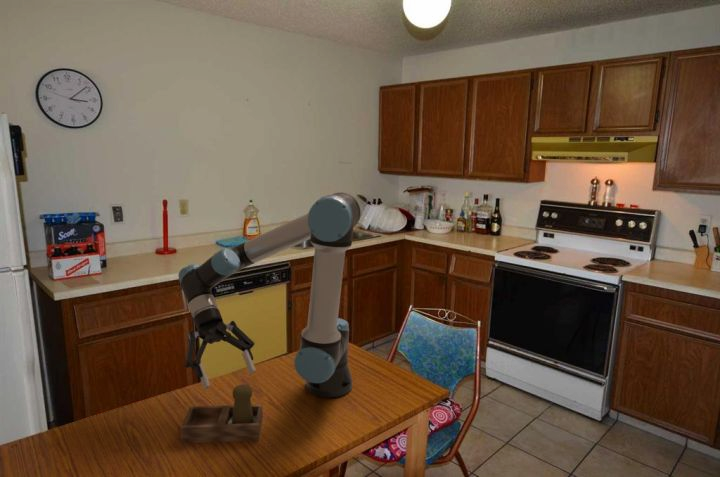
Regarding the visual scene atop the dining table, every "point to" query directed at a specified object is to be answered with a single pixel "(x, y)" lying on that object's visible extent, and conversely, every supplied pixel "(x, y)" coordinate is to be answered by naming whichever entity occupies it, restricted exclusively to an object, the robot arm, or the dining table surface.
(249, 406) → the cork
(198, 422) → the stand
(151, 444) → the dining table surface
